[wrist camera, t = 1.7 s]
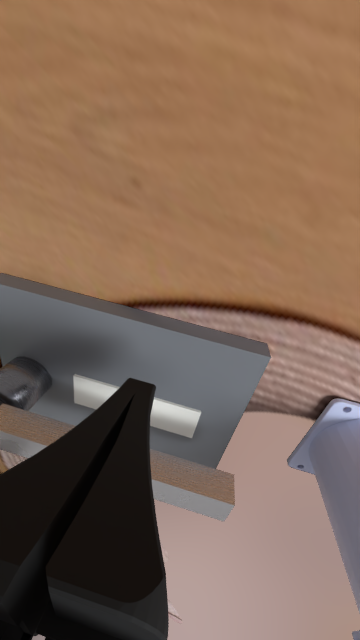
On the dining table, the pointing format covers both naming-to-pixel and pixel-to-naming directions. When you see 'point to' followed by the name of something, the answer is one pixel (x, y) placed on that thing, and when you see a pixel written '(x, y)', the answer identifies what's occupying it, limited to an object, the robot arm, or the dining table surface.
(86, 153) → the dining table surface
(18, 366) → the grooved metal knob
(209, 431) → the label panel
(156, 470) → the swing bar
